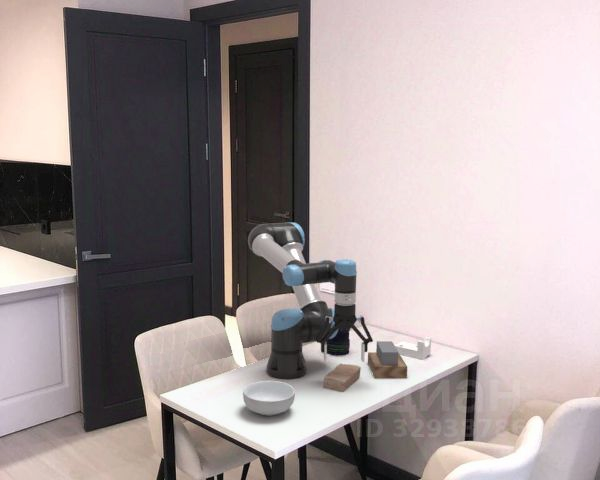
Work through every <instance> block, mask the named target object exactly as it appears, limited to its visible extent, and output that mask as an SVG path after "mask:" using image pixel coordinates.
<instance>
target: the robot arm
mask: <svg viewBox="0 0 600 480" xmlns="http://www.w3.org/2000/svg"><path fill="white" fill-rule="evenodd" d="M305 240H306V238H305V233H304V230H303V228H302V226H301V225H300V224H298V223H297V222H290V221H287V222H286V221H285V222H276V223H275V222H274V223H273V222H272V223H271V222H270V223H260V224H258V225H257V226H255V227H253V228H252V229H251V231H250V232H249V234H248V238H247V243H248V247H249V249H250V251H252V253H253V254H255V255H256V256H258V257H262V258H264V259H265V260H266V261H267V262H268V263H270V265H272V266H273V267H274V268H275V269H277V270H278V271H279V272H280V273H281V274H282V279H283V281H284V284H285V285H286V286H288V287H292V290H293V293H294V294H295V295H294V296H295V298H296V300H297V303H298V306H299V308H284V309H281V310H278V311H276V312H275V313H273V315H272V316H271V324H270V328H271V331H270V332H271V333H270V335H271V338H270V339H271V341H270V343H271V345H270V346H271V348H270V350H271V352H270V355H269V357H268V361H267V364H266V367H265V368H266V371H265V372H266V374H267V375H268V376H270V377H273V378H277V379H284V380H287V379H288V380H290V379H297V378H301V377H304V376H305V375H306V374H307V369H308V368H307V363H306V360H305V357H304V354H303V344H306V343H307V344H308V343H314V342H316V343H318V344H320V352H321V353H322V354H323V362H324V363H327V362H328V361H327V360H328V359H327V355H328V353H327V344H326V341H327V340H328V339H332V338H333V337H335V336H336V334H337V332H338V328H339V329H350V330H351V329H352V330H353V331H354V332H355V334H357V336H358V337H359V339H361V346H360V347H361V349H360V351H361V354H360V356H361V357H360V360H361V362H362V363H364V362H365V354H366V353H368V346H369V343H373V342H374V340H373V337H372V335H371V333H370V331H369V329H368V326H366V323H365V317H364V316H363V315H360V316H356V304H355V303H356V301H357V299H356V298H357V296H356V295H357V294H356V293H357V275H358V274H357V273H358V272H357V263H356V261H355V260H353V259H345V258H342V259H337V260H336V261H334V260H330V259H329V260H328V259H323V260H320V261H319V262H308V263H306V260H305V257H304V255H303V253H302V252H303V250H304V246H305ZM324 283H331V284H334V305H333V306H334V308H332V307H330V308H329V307H328V304H327V302H326V301H325V300H322V299H321V297H320V294H319V293H318V290H317V287H316V285H315V284H317V285H318V284H324ZM357 321H358V323H360V324H361V327H362V329H363V331H364V333H365V335H366V336H365V335H363V333H362V332H361V330H360V329H358V327H357V326H356V325H355V323H356V322H357ZM366 337H367V338H366Z"/></svg>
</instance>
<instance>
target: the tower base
mask: <svg viewBox="0 0 600 480" xmlns="http://www.w3.org/2000/svg"><path fill="white" fill-rule="evenodd" d="M367 365H368V367H369V370H370V371H372V372H371V373H373V374H372V377H374V378H373V379H407V378H408V366H407V364H406V362H405V360H404V359H403V357H402V355H400V354H399V353H398V365H381V363H380V361H379V358H378V356H377V354H376V351H375V352H371V351H369V352H368V351H367Z"/></svg>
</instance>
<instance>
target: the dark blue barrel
mask: <svg viewBox="0 0 600 480" xmlns="http://www.w3.org/2000/svg"><path fill="white" fill-rule="evenodd" d="M350 331H351V328H350V329H339V328H338V332H337V334H336V336H335V337H333V338H332V339H328V340H327V341H326V344H327V355H330V356H333V357H335V356H338V357H342V356H347V355H349V354H350V347H351V344H350V341H351V339H350Z"/></svg>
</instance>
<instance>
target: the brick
mask: <svg viewBox="0 0 600 480" xmlns="http://www.w3.org/2000/svg"><path fill="white" fill-rule="evenodd" d="M361 370H362V369H361V366H359V365H355V364H349V363H348V364H346V363H339V364H337V365H336V367H334V369H332V370H331V371H329V372H328V373H327V374H325V376H324V377H323V384H322V387H323V388H324V389H326V390H332V391H336V392H341V393H342V392H343V393H344V392H345V391H346V390H347V389H348V388H350V387H351V385H353V384H354V383H355V382H357V380H358V379H359V378H360V376H361Z"/></svg>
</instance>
